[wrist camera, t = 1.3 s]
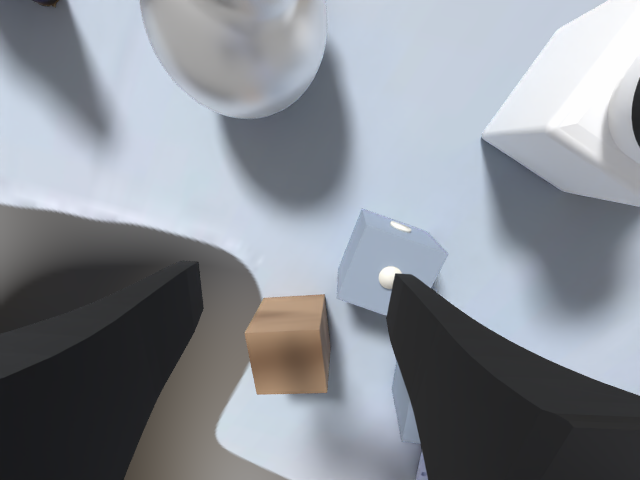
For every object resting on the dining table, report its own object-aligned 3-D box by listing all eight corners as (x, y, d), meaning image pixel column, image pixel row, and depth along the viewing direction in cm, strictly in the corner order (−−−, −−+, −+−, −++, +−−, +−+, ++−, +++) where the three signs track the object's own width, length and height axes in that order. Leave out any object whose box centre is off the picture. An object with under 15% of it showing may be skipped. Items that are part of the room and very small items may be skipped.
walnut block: (330, 347, 26) (327, 392, 21) (273, 349, 26) (256, 394, 21) (324, 294, 24) (319, 329, 19) (264, 297, 25) (244, 333, 20)
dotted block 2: (450, 395, 26) (474, 453, 21) (391, 388, 26) (402, 444, 21) (462, 345, 25) (491, 395, 20) (400, 339, 25) (413, 386, 20)
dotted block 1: (398, 289, 24) (412, 326, 19) (338, 267, 23) (336, 299, 19) (427, 228, 22) (451, 251, 17) (362, 205, 22) (367, 222, 17)
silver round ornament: (367, 56, 19) (388, -36, 10) (256, 151, 21) (183, 153, 12) (277, -82, 17) (194, -360, 8) (167, 36, 20) (-1, -69, 10)
